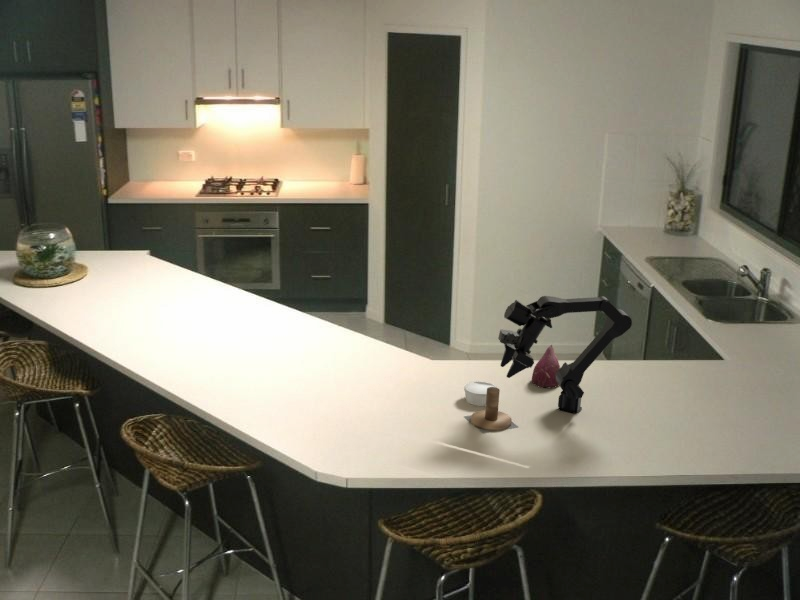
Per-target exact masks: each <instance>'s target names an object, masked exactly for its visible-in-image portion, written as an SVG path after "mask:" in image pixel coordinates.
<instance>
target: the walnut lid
mask: <svg viewBox="0 0 800 600" xmlns="http://www.w3.org/2000/svg"><path fill="white" fill-rule="evenodd" d="M496 387H497V386H496ZM496 387H489V388H487V395H486V406H485V409H482V410H478V411H475V412H473V413H472V414H471V423H472V424H473V427H475V426H476V427H478V428H480V429H484V430H490V431H495V432H499V430H500V431H505V430H504V429H506V430H508V429H507V428H509V427H510V426H511V422H513V421H512V417H511V416H510V415H509V414H507V413H505V412H503V411H501V410H499V402H500V390H501V389H500V388H499V387H497V388H496ZM471 423H470V424H471ZM472 424H471V425H472ZM476 427H475V428H476Z"/></svg>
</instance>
